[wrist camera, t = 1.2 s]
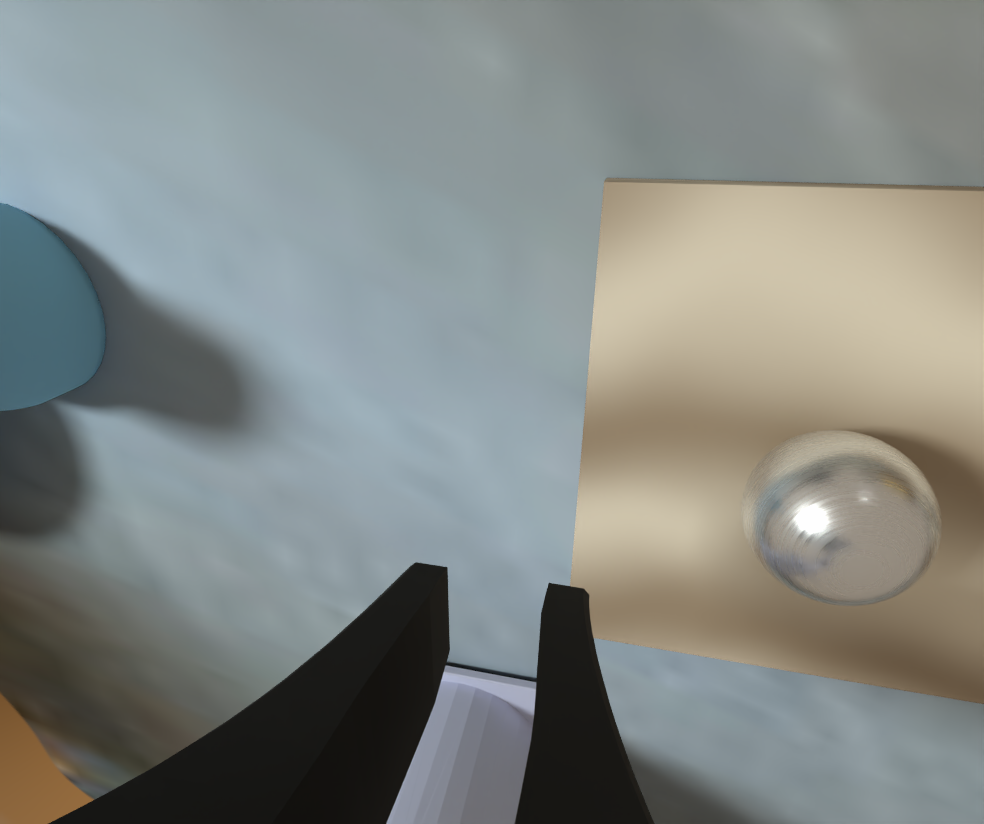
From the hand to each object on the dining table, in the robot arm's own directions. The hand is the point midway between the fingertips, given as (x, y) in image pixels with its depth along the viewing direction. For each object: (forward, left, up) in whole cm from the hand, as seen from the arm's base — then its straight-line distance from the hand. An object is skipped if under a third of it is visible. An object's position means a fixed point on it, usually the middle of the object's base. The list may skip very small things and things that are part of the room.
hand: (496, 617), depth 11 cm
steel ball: (0, -7, -5) cm, 9 cm away
